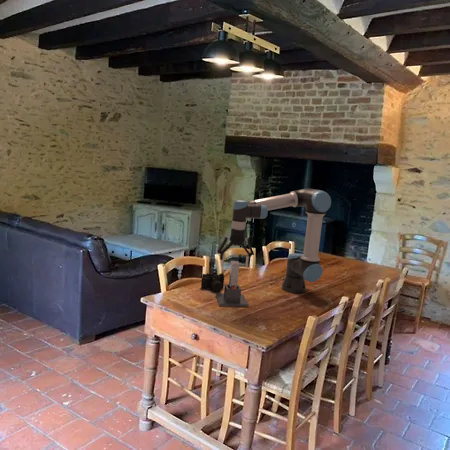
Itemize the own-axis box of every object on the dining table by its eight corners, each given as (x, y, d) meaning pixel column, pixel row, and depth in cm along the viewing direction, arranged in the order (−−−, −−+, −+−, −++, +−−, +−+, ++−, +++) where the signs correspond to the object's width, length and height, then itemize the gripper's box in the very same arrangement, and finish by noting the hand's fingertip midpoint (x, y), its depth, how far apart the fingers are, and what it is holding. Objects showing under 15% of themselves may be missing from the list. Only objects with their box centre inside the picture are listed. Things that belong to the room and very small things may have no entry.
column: (234, 296, 238) (237, 261, 234) (236, 300, 232) (239, 264, 228) (227, 296, 237) (230, 260, 234) (229, 300, 231) (232, 263, 228)
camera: (203, 293, 244) (205, 276, 243) (199, 287, 254) (201, 271, 253) (226, 292, 248) (228, 276, 247) (221, 287, 258) (223, 271, 257)
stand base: (242, 296, 244) (244, 281, 242) (248, 307, 228) (250, 290, 227) (215, 295, 241) (217, 280, 240) (219, 306, 226) (220, 289, 224)
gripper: (259, 228, 233) (254, 265, 237) (214, 225, 229) (211, 263, 233) (262, 231, 226) (257, 269, 229) (216, 228, 222) (212, 267, 226)
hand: (234, 266), depth 231 cm, fingers open, 13 cm apart
